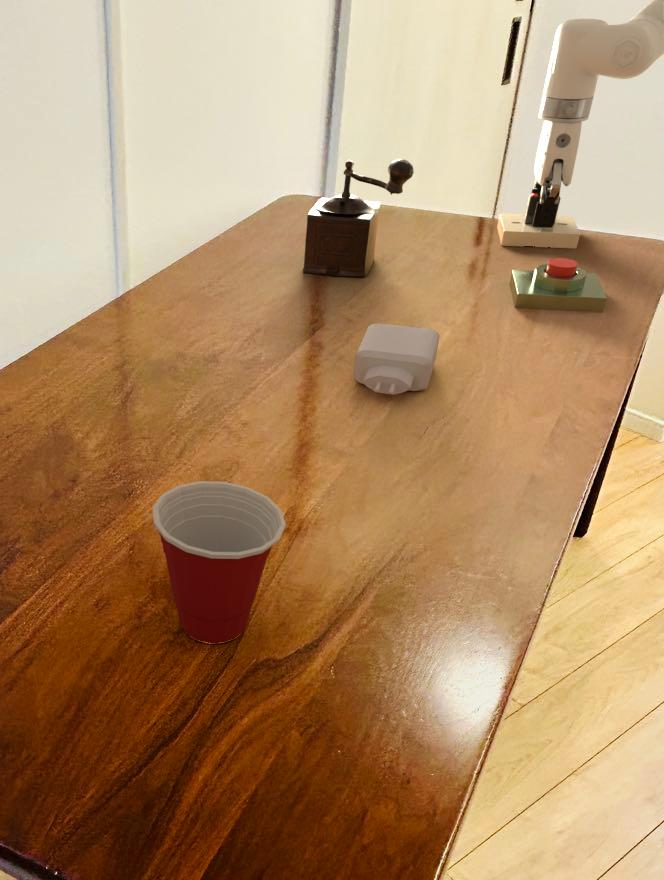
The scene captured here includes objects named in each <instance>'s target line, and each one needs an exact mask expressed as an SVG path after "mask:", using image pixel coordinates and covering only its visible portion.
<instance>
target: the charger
mask: <svg viewBox="0 0 664 880" xmlns="http://www.w3.org/2000/svg"><path fill="white" fill-rule="evenodd" d="M439 342H440V333H439V332H438V331H436V330H435V329H432V328H426V327H417V326H410V325H409V326H408V325H398V324H390V323H380V322H379V323H373V324H370V325H368V327H367V329H366V331H365V333H364V336H363V337H362V339H361V343H360V344H359V346H358V349H357V351H356V354H355V357H354V366H353V374H352V378H353V380H354V381H355V382H357V383H359V384H361V385H364V386H365V387H367V388H368V389H370V390H371V391H373V392H374V393H380V394H387V395H394V396H395V395H398V394H401V393H405V392H407V391H411V392H422V391H425V390H426V389H428V387H429V383H430V379H431V376H432V373H433V371H434V370H433V369H434V365H435V362H436V360H437V353H438V349H439Z"/></svg>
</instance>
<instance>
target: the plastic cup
mask: <svg viewBox="0 0 664 880" xmlns="http://www.w3.org/2000/svg"><path fill="white" fill-rule="evenodd" d="M152 515H153V516H152V517H153V525H154V527H155V529H156V530H157V531H158V534H159V536H160V541H161V543H162V551H163V553H164V557H165V561H166V566H167V570H168V576H169V582H170V585H171V591H172V596H173V601H174V602H175V604H176V610H177V615H178V621H179V624H180V625H181V628H182V627H183V628H184V630H185V631H186V633H187V634H188V635H190V636H192V637H193V638H195V639H197V640H200V641H205V642H208V643H209V642H210V643H219V642H225V641H228V640H231V639H234V638H235V637H237V636H238V635H239V634H240V633H242V632H244V630H245V629H246V627H247V625H248V622H249V619H250V614H251V611H252V608H253V604H254V601H255V599H256V597H257V593H258V591H259V590H258V589H259V587H260V584H261V580H262V576H263V573H264V570H265V566H266V562H267V559H268V557H269V555H270V552H271V550H272V549H273V547H274V546H275V545H277V544H278V543H279V541H280V539H281V537H282V536H283V535H282V534H283V532H284V530H285V528H286V526H287V523H286V520H285V517H284V514H283V510H282V509H281V508H280V507H279V506H278V505H277V504H276V503H275V502H274V501H273V500H272V499H271V498H270V497H269V496H267V495H265V494H263V493H261V492H259V491H257V490H254V489H253V488H251V487H248V486H245V485H241V484H236V483H232V482H227V481H209V480H208V481H207V480H200V481H199V480H198V481H195V482H190V483H189V482H188V483H185V484H180V485H177V486H175V487H173V488H171V489H169V490H168V491H165V492H164V493H162V494H161V495H160V496H159V498H158V499H157V500H156V502H155V504H154V505H153V506H152ZM184 630H183V631H184ZM185 631H184V632H185ZM186 633H185V634H186ZM187 634H186V635H187ZM242 634H243V633H242ZM188 635H187V636H188Z"/></svg>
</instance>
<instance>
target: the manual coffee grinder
mask: <svg viewBox="0 0 664 880" xmlns="http://www.w3.org/2000/svg"><path fill="white" fill-rule="evenodd" d="M354 165H355V163H354V161H353V160H352V159H348V160H347V161H346V162H345V164H344V166H345V169H344V171H343V175H344V185H343V191H342V192H341V194H338V195H335V196H333V197H331V198H330V197H329V198H328V197H321V198H319V199H318V200H317V201H316V203H315V204H314V206H313V207H311V209H310V210H309V212H308V214H307V217H306V232H305V243H304V244H305V245H304V259H303V260H304V261H303V268H302V273H306V274H316V275H323V276H333V277H334V276H335V277H339V276H341V277H360V278H361V277H366V276H367V275H368V274H369V272H370V270H371V268H372V267H373V264H374V261H375V250H376V240H377V232H378V225H379V218H380V210H381V204H382V203H381V202H379V201H370V200H364V199H362V198H360V197H358V196H357V195H354V194H351V192H350V190H351V181H352V179H353V180H355V181H358V182H361V183H366V184H368V185H372V186H375V187H379V188H382V189H385V190H386V191H387V192H389V194H390V195H391V196H392V195H393V194H394V195H395V194H396V195H399V194H400V195H401V194H402V193H403V190H404V189H403V187H404V184H405V183H407V182H408V181H409V180H410V179H411V178H412V177H413V175H414V172H415V171H414V166H413V164H411V162H409V161H408V160H407V159H404V158H398V159H395V160H393V161H392V162H390V164H389V165H388V167H387V172H388V177H389V178H388V179H389V181H388V182H384V181H382V180H381V179H380V180H379V179H377V178H372V177H369V176H364V175H360V174H357V173H355V172H354V170H353V168H354Z"/></svg>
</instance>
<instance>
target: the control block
mask: <svg viewBox="0 0 664 880" xmlns="http://www.w3.org/2000/svg"><path fill="white" fill-rule="evenodd" d="M547 265H548V263H546V264H541V265H539V266H537V267H535V269H534V270H524V269H512V270H511V274H510V279H509V282H508V283H509V288H510V292H511V297H512V301H513V307H514V309H530V310H531V309H533V310H546V311H547V310H549V311H564V312H565V311H566V312H568V311H569V312H583V313H601V314H602V313H604V309H605V306H606V303H607V299H608V297H607V295H606V293H605V291H604V289H603V286H602V284H601V281H600V280H599V279H600V278H599V276H598V274H597V273H591V272H589V273H588V272H586V270H585V269H583V268H581V267H578V266H577V269H576V273H575V276H573V277H556V276H552V275H549V274H547V273H546V269H547Z"/></svg>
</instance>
